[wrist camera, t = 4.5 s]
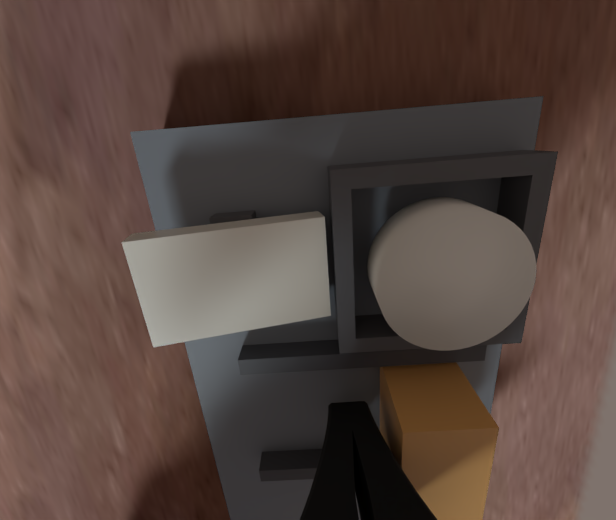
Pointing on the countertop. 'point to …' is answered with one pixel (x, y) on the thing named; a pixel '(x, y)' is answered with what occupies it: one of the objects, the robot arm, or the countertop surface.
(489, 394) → the console
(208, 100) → the countertop surface
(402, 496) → the robot arm
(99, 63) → the countertop surface
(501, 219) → the button
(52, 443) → the countertop surface
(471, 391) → the slider
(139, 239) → the beige flat panel
